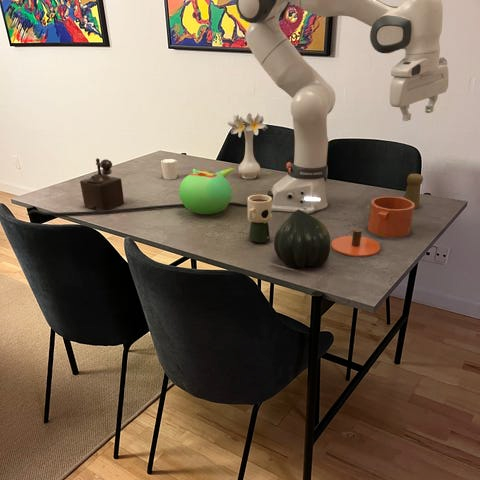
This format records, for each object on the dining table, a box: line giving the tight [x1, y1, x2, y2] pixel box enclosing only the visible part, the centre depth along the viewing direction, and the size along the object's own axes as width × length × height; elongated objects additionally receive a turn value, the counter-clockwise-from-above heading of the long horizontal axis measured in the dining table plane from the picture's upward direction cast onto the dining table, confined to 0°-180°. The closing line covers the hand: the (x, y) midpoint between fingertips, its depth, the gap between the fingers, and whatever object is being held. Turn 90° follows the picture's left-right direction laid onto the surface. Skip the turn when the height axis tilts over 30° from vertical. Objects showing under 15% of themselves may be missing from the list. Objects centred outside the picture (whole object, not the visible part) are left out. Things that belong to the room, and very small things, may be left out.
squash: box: [273, 209, 331, 268], centre depth 129 cm, size 14×15×15 cm
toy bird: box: [178, 167, 235, 215], centre depth 163 cm, size 18×17×15 cm
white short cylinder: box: [160, 158, 178, 181], centre depth 201 cm, size 7×7×7 cm
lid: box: [330, 228, 381, 258], centre depth 138 cm, size 14×14×6 cm
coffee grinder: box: [79, 157, 125, 211], centre depth 168 cm, size 16×11×18 cm
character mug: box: [247, 194, 273, 243], centre depth 142 cm, size 11×7×13 cm, turn 147°
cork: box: [403, 173, 424, 210], centre depth 167 cm, size 6×6×11 cm
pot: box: [367, 195, 416, 238], centre depth 148 cm, size 13×18×9 cm
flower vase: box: [227, 112, 268, 180], centre depth 196 cm, size 13×18×25 cm
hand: (418, 116), depth 140 cm, fingers open, 8 cm apart
